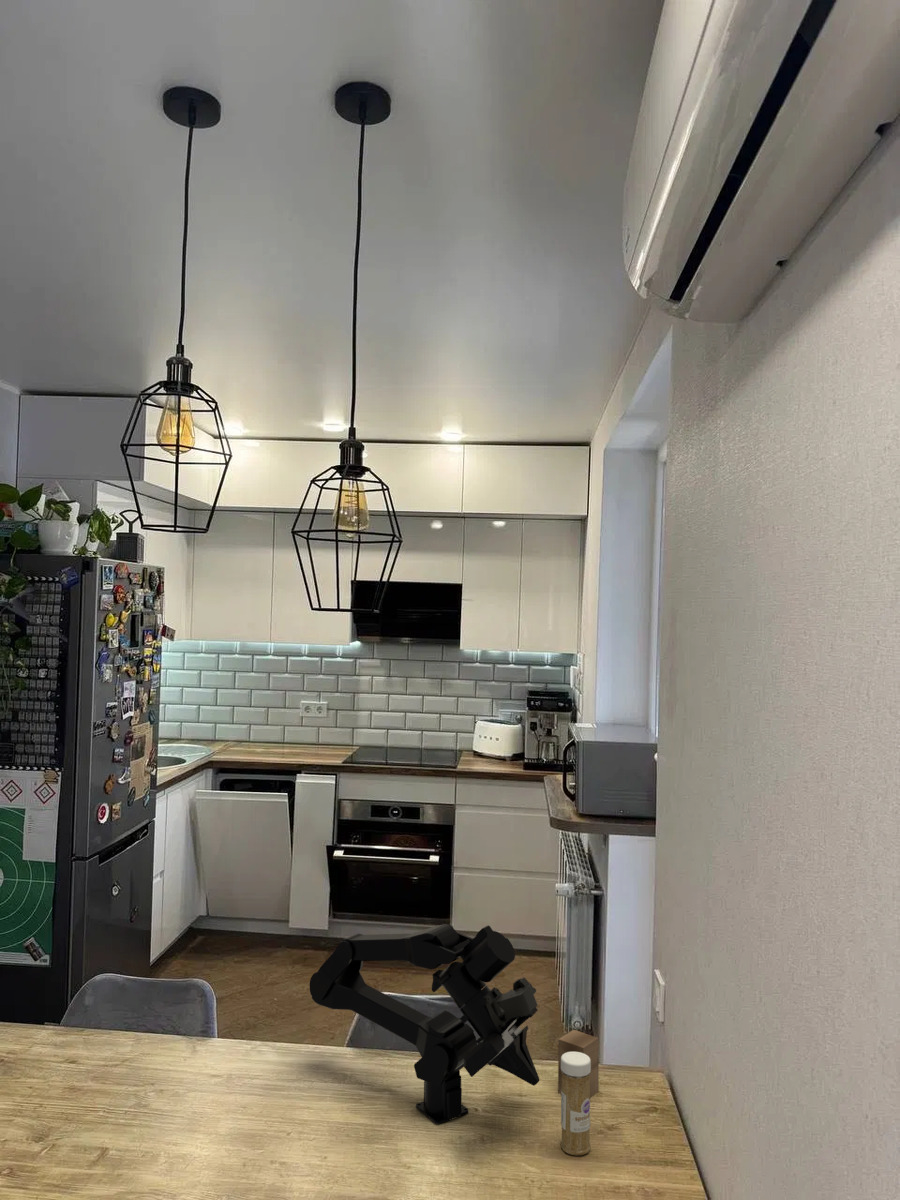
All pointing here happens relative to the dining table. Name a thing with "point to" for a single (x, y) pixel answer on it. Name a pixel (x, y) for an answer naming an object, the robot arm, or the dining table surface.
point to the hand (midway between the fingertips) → (536, 1083)
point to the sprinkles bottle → (575, 1103)
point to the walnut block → (582, 1044)
